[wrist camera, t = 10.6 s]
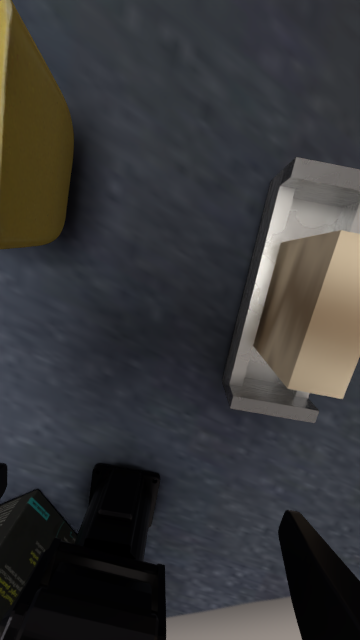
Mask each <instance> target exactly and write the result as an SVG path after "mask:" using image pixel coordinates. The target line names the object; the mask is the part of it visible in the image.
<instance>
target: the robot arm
mask: <svg viewBox="0 0 360 640" xmlns="http://www.w3.org/2000/svg"><path fill="white" fill-rule="evenodd" d="M99 470H100V471H99ZM154 479H156V480H154ZM159 484H160V476H159V475H158V474H156V473H150V472H144V471H137V470H131V469H125V468H119V467H113V466H107V465H101V464H97V465H95V467H94V469H93V473H92V482H91V491H90V500H89V507H88V510H87V512H86V515H85V517H84V520H83V522H82V525H81V527H80V530H79V532H78V535H77V538H76V540H75V543H74V544H73V543H69V542H65V541H62V539H60V538H56V537H55V538H54V540H53V542H52V544H51V545H50V547H49V549H46V550H45V552H42V553H41V555H40V557H39V559H38V561H37V563H36V565H35V567H34V569H33V571H32V573H31V575H30V577H29V579H28V580H27V582H26V584H25V585H24V587H23V588H22V590H21V591H20V593H19V594H18V596H17V597H16V599H15V600H14V602H13V603H12V605H11V606H10V608H9V609H8V611H7V612H6V614H5V615H4V617H3V619H2V620H1V622H0V640H166V599H165V565H162V564H157V565H155V564H152V563H148V562H144V561H143V560H144V553H145V546H146V539H147V532H148V528H149V527H151V524H152V519H153V514H154V509H155V504H156V499H157V494H158V489H159ZM6 487H7V465H6V464H5V463H0V499H1V497H2V495H3V494H4V492H5V490H6ZM278 535H279V541H280V546H281V551H282V556H283V561H284V566H285V571H286V576H287V581H288V585H289V590H290V595H291V600H292V603H293V608H294V612H295V615H296V619H297V623H298V626H299V630H300V633H301V637H302V640H360V581H359V580H358V579H357V577H356V576H355V575H354V574H353V573H352V572H351V570H350V569H349V568H348V567H347V566H346V565H345V564H344V562H343V561H342V560H341V559H340V558H339V557H338V556H337V554H336V553H335V552H334V551H333V550H332V549H331V548H330V546H329V545H328V544H327V543H326V542H325V541H324V539H323V538H322V537H321V536H320V535H319V534H318V533H317V531H316V530H315V529H314V528H313V527H312V526H311V525H310V523H309V522H308V521H307V520H306V519H305V518H304V517H303V515H302V514H301V513H299V512H297V511H292V510H286V511H285V513H284V515H283V518H282V521H281V523H280V526H279V530H278Z"/></svg>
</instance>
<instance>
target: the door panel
mask: <svg viewBox="0 0 360 640" xmlns="http://www.w3.org/2000/svg"><path fill="white" fill-rule="evenodd" d="M253 346H254V348H255V349H256V350H257V351H258V353H259V354H260V355H261V356H262V358H263V359H264V360H265V361H266V363H267V364H268V365H269V366H270V368H271V369H272V370H273V371H274V372H275V374H276V375H277V376H278V377H279V379H280V380H281V381H282V382H283V384H284V385H285V386H286V387H287V389H292V390H297V391H303V392H308V393H313V394H318V395H324V396H329V397H334V398H340V399H343V397H344V394H345V392H346V389H347V387H348V384H349V382H350V379H351V377H352V374H353V372H354V370H355V367H356V365H357V362H358V360H359V357H360V234H357V233H353V232H348V231H343V230H339V231H334V232H329V233H325V234H320V235H315V236H310V237H305V238H300V239H295V240H290V241H285V242H281V244H280V248H279V252H278V255H277V259H276V263H275V267H274V270H273V274H272V278H271V281H270V285H269V289H268V293H267V296H266V300H265V304H264V307H263V311H262V315H261V318H260V322H259V326H258V330H257V333H256V337H255V341H254V344H253Z"/></svg>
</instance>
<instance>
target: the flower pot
mask: <svg viewBox="0 0 360 640" xmlns="http://www.w3.org/2000/svg"><path fill="white" fill-rule="evenodd" d="M73 151H74V134H73V126H72V120H71V116H70V112H69V109H68V106H67V104H66V101H65V99H64V97H63V95H62V93H61V91H60V89H59V87H58V85H57V83H56V81H55V79H54V77H53V76H52V74H51V72H50V70H49V68H48V66H47V64H46V63H45V61H44V59H43V57H42V55H41V53H40V52H39V50H38V48H37V46H36V44H35V42H34V41H33V39H32V37H31V35H30V33H29V32H28V30H27V28H26V26H25V24H24V22H23V21H22V19H21V17H20V15H19V14H18V12H17V10H16V8H15V6H14V4H13V2H12V0H0V249H10V248H21V247H31V246H40V245H45V244H48V243H51V242H52V241H54V240H55V239H56V238H57V237H58V236H59V235H60V233H61V232H62V229H63V227H64V223H65V218H66V209H67V201H68V193H69V185H70V178H71V170H72V163H73Z"/></svg>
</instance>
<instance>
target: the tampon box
mask: <svg viewBox="0 0 360 640" xmlns="http://www.w3.org/2000/svg"><path fill="white" fill-rule="evenodd" d="M55 537H56V538H60V539H62V541H65V542H69V543H73V544H74V543H75V540H76V538H77V535H76V534H75V533H74V532H73V530H72V529H71V528H70V527H69V526H68V525H67V523H66V522H65V521H64V520H63V519H62V518H61V516H60V515H59V514H58V513H57V512H56V511H55V509H54V508H53V507H52V506H51V505H50V503H49V502H48V501H47V500H46V499H45V497H44V496H43V495H42V494H41V493H40V491H39V490H35V491H33V492H31V493H28V494H26V495H24V496H22V497H19V498H17V499H14V500H12V501H10V502H7V503H5V504H3V505H0V622H1V620H2V619H3V617H4V615H5V614H6V612H7V611H8V609H9V608H10V606H11V605H12V603H13V602H14V600H15V599H16V597H17V596H18V594H19V593H20V591H21V590H22V588H23V587H24V585H25V584H26V582H27V580H28V579H29V577H30V575H31V573H32V571H33V569H34V567H35V565H36V563H37V561H38V559H39V557H40V555H41V553H42V552H45V550H46V549H49V547H50V545H51V544H52V542H53V540H54V538H55Z"/></svg>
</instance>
